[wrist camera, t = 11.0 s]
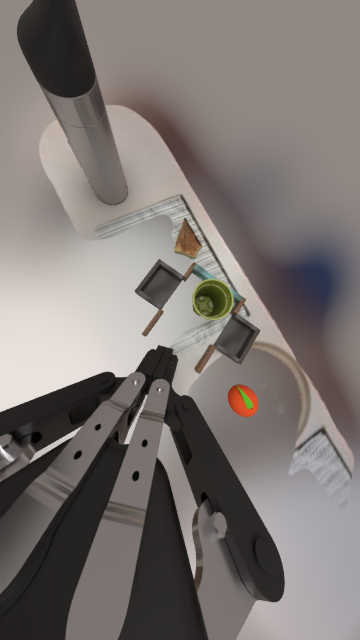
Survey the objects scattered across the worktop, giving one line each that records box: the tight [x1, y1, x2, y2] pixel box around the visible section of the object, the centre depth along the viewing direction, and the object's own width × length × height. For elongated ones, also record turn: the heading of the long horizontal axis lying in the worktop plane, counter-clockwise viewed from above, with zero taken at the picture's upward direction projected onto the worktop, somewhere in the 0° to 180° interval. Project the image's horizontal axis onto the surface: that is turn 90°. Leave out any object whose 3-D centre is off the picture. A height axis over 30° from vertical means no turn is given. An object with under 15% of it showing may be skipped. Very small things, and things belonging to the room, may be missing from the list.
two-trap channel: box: [135, 259, 260, 374], centre depth 36 cm, size 34×24×2 cm
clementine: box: [228, 385, 258, 417], centre depth 32 cm, size 8×7×7 cm
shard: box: [174, 218, 202, 258], centre depth 38 cm, size 11×8×2 cm
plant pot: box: [193, 279, 234, 320], centre depth 33 cm, size 9×9×9 cm
